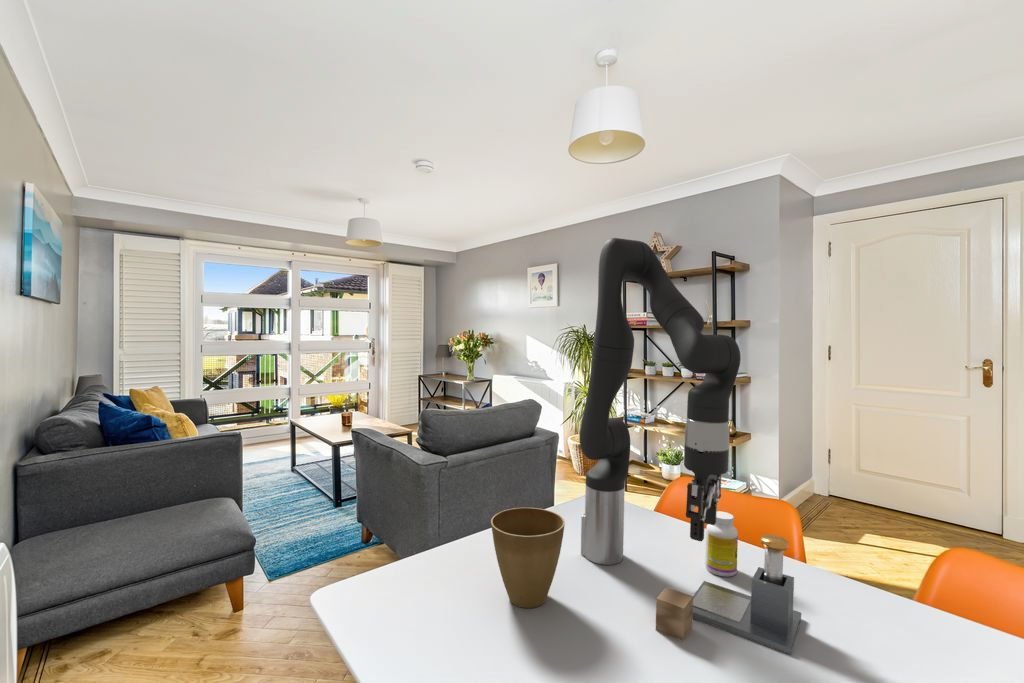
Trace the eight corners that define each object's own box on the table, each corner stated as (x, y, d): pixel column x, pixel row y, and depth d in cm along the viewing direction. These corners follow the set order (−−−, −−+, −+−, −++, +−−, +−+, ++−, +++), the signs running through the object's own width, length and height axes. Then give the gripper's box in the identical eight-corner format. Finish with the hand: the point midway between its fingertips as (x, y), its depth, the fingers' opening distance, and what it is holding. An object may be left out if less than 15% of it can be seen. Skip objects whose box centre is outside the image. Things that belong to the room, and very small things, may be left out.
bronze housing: (655, 630, 88) (656, 598, 88) (665, 617, 92) (666, 586, 92) (683, 641, 85) (684, 608, 85) (692, 627, 89) (693, 596, 89)
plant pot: (572, 588, 101) (574, 513, 101) (547, 628, 88) (549, 542, 87) (509, 572, 108) (510, 501, 107) (476, 607, 94) (477, 526, 94)
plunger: (756, 599, 89) (758, 540, 88) (761, 588, 92) (763, 532, 92) (783, 607, 86) (786, 547, 86) (787, 597, 89) (789, 538, 89)
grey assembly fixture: (683, 614, 93) (685, 567, 92) (703, 586, 103) (705, 544, 103) (790, 655, 82) (792, 602, 81) (801, 618, 92) (802, 571, 92)
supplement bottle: (740, 579, 106) (742, 522, 105) (708, 576, 107) (710, 519, 107) (732, 564, 112) (734, 510, 112) (702, 561, 114) (704, 508, 113)
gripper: (696, 433, 95) (693, 514, 96) (673, 448, 84) (670, 539, 85) (737, 439, 91) (733, 524, 92) (718, 456, 79) (715, 552, 80)
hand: (703, 531), depth 88 cm, fingers open, 8 cm apart
